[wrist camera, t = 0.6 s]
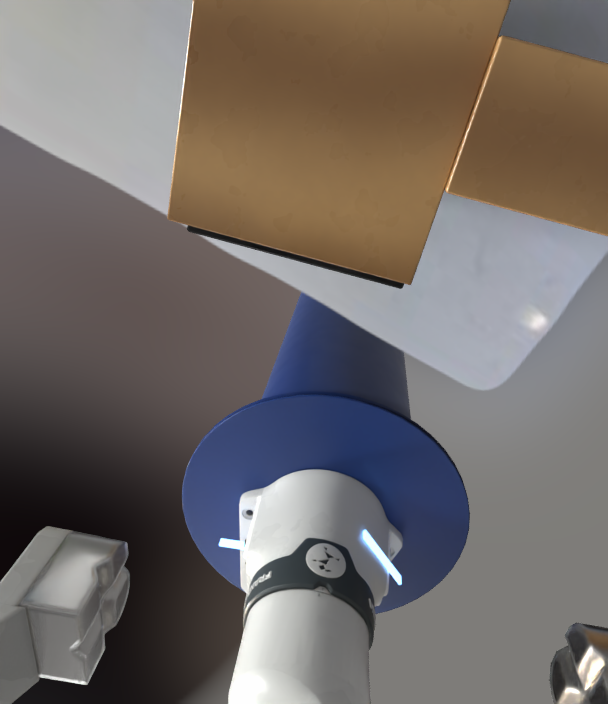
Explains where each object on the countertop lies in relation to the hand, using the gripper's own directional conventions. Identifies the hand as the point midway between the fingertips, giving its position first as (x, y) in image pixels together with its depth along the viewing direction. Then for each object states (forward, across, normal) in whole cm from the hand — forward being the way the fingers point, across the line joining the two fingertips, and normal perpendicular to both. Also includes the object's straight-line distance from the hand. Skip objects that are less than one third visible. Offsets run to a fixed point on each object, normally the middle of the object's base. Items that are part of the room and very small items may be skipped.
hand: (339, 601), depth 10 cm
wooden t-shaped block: (+13, +3, +8) cm, 16 cm away
